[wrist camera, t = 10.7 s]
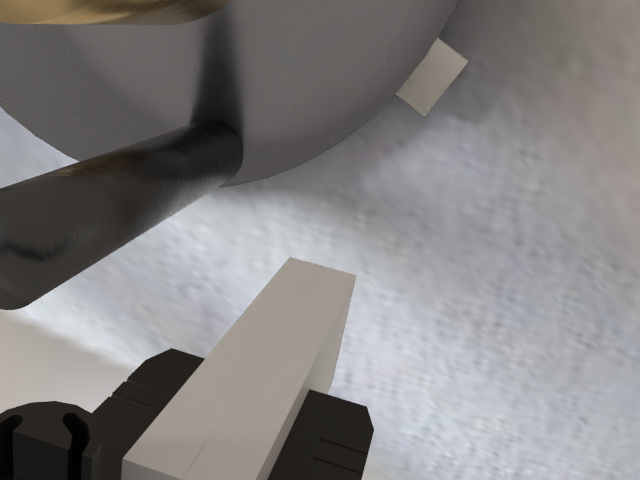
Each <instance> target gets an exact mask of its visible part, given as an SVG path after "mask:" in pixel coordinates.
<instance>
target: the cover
mask: <svg viewBox="0 0 640 480" xmlns="http://www.w3.org/2000/svg"><path fill="white" fill-rule="evenodd" d="M230 1H231V0H0V22H3V23H12V24H91V25H177V24H182V23H188V22H192V21H195V20H198V19H200V18H203V17H206V16H208V15H210V14H212V13H213V12H215V11H217V10H219V9H221V8H222V7H223V6H225V5H226V4H227V3H229V2H230Z"/></svg>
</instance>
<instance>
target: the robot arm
mask: <svg viewBox="0 0 640 480" xmlns="http://www.w3.org/2000/svg"><path fill="white" fill-rule="evenodd" d="M355 279H356V275H353V274H349V273H346V272H342V271H338V270H335V269H331V268H327V267H324V266H320V265H316V264H313V263H309V262H305V261H302V260H298V259H294V258H291V257H290V258H289V259H288V260H287V261H286V262H285V264H284V265H283V266H282V267H281V268H280V270H279V271H278V272H277V273H276V274H275V276H274V277H273V278H272V279H271V280H270V282H269V283H268V284H267V285H266V286H265V288H264V289H263V290H262V291H261V292H260V294H259V295H258V296H257V297H256V298H255V300H254V301H253V302H252V303H251V304H250V306H249V307H248V308H247V309H246V311H245V312H244V313H243V314H242V315H241V317H240V318H239V319H238V320H237V321H236V323H235V324H234V325H233V326H232V327H231V329H230V330H229V331H228V332H227V333H226V335H225V336H224V337H223V338H222V339H221V341H220V342H219V343H218V344H217V345H216V347H215V348H214V349H213V350H212V351H211V353H210V354H209V355H208V356H207V357H206V359H204V358H201V357H198V356H195V355H191V354H188V353H185V352H182V351H179V350H175V349H172V348H171V349H169V350H167V351H165V352H163V353H160V354H158V355H156V356H154V357H151V358H149V359H147V360H145V361H144V362H143V363H142V364H141V365H140V366H139V367H138V368H137V369H136V370H135V371H134V372H133V373H132V374H131V375H130V376H129V377H128V379H127V381H126V382H123V383H122V384H121V385H120V386H119V387H118V388H117V389H116V390H115V391H114V392H113V394H112V396H111V397H108V398H107V399H106V400H105V401H104V402H103V403H102V404H101V405H100V406H99V407H98V408H97V409H96V410H95V411H94V412H93V413H90V412H88V411H86V410H84V409H82V408H81V407H79V406H77V405H73V404H68V403H62V402H57V401H51V402H35V403H29V404H25V405H22V406H18V407H15V408H12V409H8V410H6V411H4V412H3V413H1V414H0V480H361V478H362V475H363V471H364V467H365V463H366V459H367V455H368V451H369V447H370V444H371V440H372V436H373V432H374V429H373V425H372V422H371V419H370V416H369V412H368V409H367V407H366V406H363V405H359V404H356V403H353V402H350V401H346V400H343V399H340V398H337V397H334V396H330V395H327V393H328V391H329V388H330V386H331V383H332V381H333V377H334V372H335V368H336V363H337V359H338V354H339V350H340V346H341V341H342V337H343V332H344V328H345V323H346V319H347V315H348V310H349V306H350V301H351V297H352V292H353V288H354V284H355Z"/></svg>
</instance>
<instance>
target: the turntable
mask: <svg viewBox="0 0 640 480" xmlns="http://www.w3.org/2000/svg"><path fill="white" fill-rule="evenodd" d="M457 3H458V0H231V1H230V2H229V3H227V4H226V5H225V6H223V7H222V8H221V9H219V10H217V11H215V12H213V13H212V14H210V15H208V16H206V17H203V18H200V19H198V20H195V21H192V22H188V23H182V24H177V25H91V24H12V23H3V22H0V106H1V107H2V108H3V109H4V110H5V111H6V112H7V113H8V114H9V115H10V116H12V117H13V118H14V119H15V120H17V121H18V122H19V123H20V124H22V125H23V126H24V127H25V128H27V129H28V130H29V131H30V132H32V133H33V134H34V135H35V136H37V137H38V138H40V139H41V140H43V141H45V142H46V143H48V144H49V145H51V146H53V147H54V148H56V149H57V150H59V151H61V152H62V153H64V154H65V155H67V156H69V157H71V158H73V159H76V160H78V161H80V162H78V163H75V164H72V165H69V166H66V167H63V168H60V169H57V170H54V171H51V172H48V173H45V174H43V175H40V176H37V177H34V178H31V179H28V180H25V181H22V182H19V183H16V184H13V185H10V186H7V187H4V188H1V189H0V309H3V310H15V309H20V308H22V307H25V306H27V305H29V304H30V303H32V302H33V301H35V300H37V299H38V298H40V297H41V296H43V295H45V294H46V293H48V292H50V291H51V290H53V289H54V288H56V287H58V286H59V285H61V284H62V283H64V282H66V281H67V280H69V279H70V278H72V277H74V276H75V275H77V274H78V273H80V272H82V271H83V270H85V269H87V268H88V267H90V266H91V265H93V264H95V263H96V262H98V261H99V260H101V259H103V258H104V257H106V256H107V255H109V254H111V253H112V252H114V251H115V250H117V249H119V248H120V247H122V246H124V245H125V244H127V243H128V242H130V241H132V240H133V239H135V238H136V237H138V236H140V235H141V234H143V233H144V232H146V231H148V230H149V229H151V228H152V227H154V226H156V225H157V224H159V223H161V222H162V221H164V220H165V219H167V218H169V217H170V216H172V215H173V214H175V213H177V212H178V211H180V210H181V209H183V208H185V207H186V206H188V205H189V204H191V203H193V202H194V201H196V200H197V199H199V198H201V197H202V196H204V195H206V194H207V193H209V192H210V191H212V190H214V189H215V188H217V187H224V186H234V185H238V184H242V183H246V182H251V181H255V180H259V179H264V178H268V177H270V176H273V175H275V174H278V173H281V172H283V171H286V170H288V169H291V168H293V167H296V166H299V165H301V164H303V163H305V162H307V161H308V160H310V159H312V158H314V157H316V156H317V155H319V154H321V153H323V152H325V151H326V150H328V149H330V148H332V147H334V146H335V145H337V144H338V143H339V142H341V141H342V140H343V139H345V138H346V137H347V136H349V135H350V134H351V133H352V132H354V131H355V130H356V129H358V128H359V127H360V126H362V125H363V124H364V123H366V122H367V121H368V120H369V119H371V118H372V117H373V116H374V115H375V114H376V113H377V112H378V111H379V110H380V109H381V108H382V107H383V106H384V105H385V104H386V103H387V102H388V101H389V100H390V99H391V98H392V97H393V96H394V95H395V94H396V95H397V96H398V97H400V98H401V99H402V100H403V101H405V102H406V103H407V104H409V105H410V106H411V107H412V108H414V109H415V110H416V111H417V112H419V113H420V114H421V115H423V116H424V117H425V116H426V115H427V113H428V112H429V111H430V110H431V108H432V107H433V106H434V105H435V103H436V102H437V101H438V100H439V98H440V97H441V96H442V94H443V93H444V92H445V91H446V89H447V88H448V87H449V86H450V84H451V83H452V82H453V81H454V79H455V78H456V77H457V76H458V74H459V73H460V72H461V70H462V69H463V68H464V67H465V65H466V64H467V63H468V60H467V59H465V58H464V57H463V56H462V55H460V54H459V53H458V52H456V51H455V50H454V49H453V48H451V47H450V46H449V45H448V44H446V43H445V42H444V41H442V40H441V39H440V38H439V35H440V34H441V32H442V30H443V29H444V27H445V25H446V24H447V22H448V20H449V19H450V17H451V15H452V14H453V12H454V9H455V7H456V5H457Z"/></svg>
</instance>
